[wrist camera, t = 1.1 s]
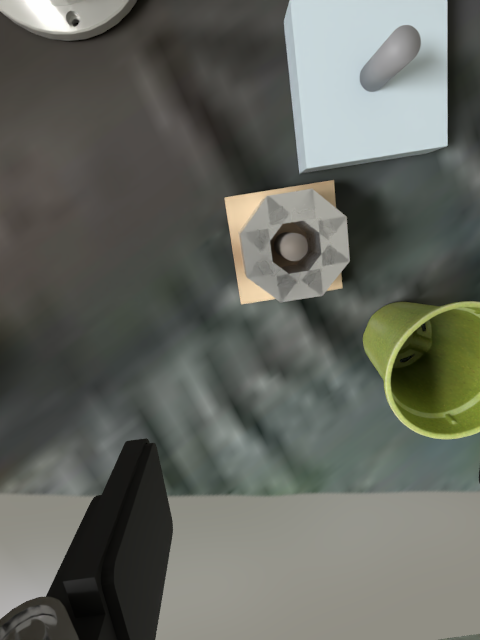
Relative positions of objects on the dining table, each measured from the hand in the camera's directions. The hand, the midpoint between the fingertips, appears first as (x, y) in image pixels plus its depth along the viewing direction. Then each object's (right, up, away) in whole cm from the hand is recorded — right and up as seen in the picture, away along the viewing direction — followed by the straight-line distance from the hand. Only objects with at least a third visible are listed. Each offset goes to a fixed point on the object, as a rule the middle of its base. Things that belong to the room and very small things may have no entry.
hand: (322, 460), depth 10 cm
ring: (+1, +10, +17) cm, 19 cm away
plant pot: (+11, +3, +21) cm, 24 cm away
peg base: (+6, +21, +16) cm, 27 cm away
